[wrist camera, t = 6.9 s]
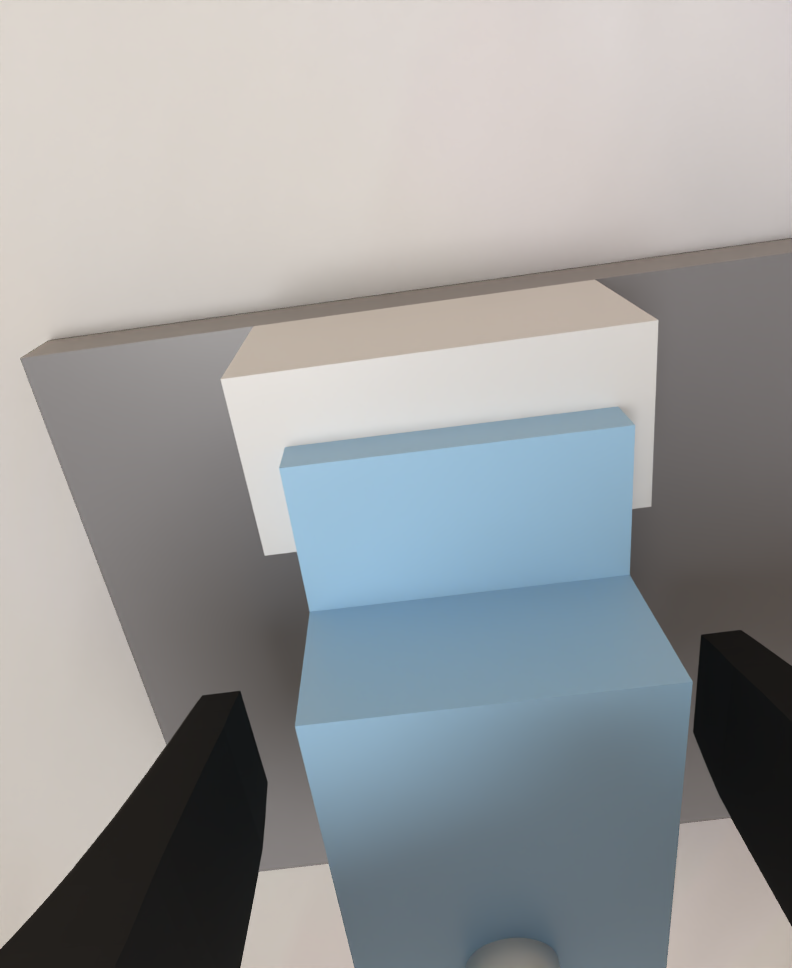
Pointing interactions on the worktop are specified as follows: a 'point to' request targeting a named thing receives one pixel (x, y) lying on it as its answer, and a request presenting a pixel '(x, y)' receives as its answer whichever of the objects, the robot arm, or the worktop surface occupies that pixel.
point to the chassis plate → (261, 600)
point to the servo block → (488, 696)
